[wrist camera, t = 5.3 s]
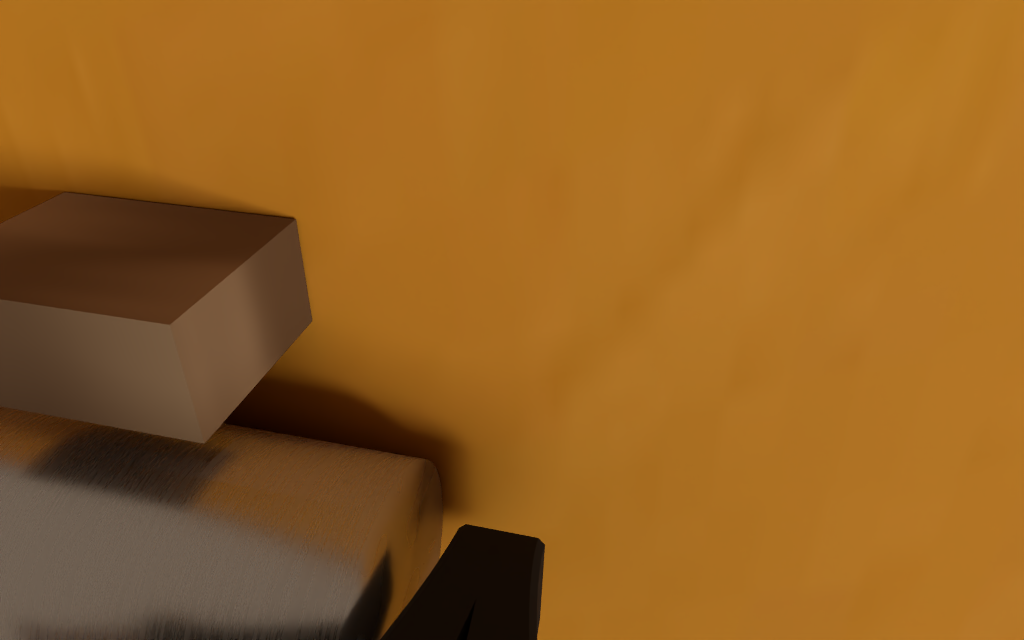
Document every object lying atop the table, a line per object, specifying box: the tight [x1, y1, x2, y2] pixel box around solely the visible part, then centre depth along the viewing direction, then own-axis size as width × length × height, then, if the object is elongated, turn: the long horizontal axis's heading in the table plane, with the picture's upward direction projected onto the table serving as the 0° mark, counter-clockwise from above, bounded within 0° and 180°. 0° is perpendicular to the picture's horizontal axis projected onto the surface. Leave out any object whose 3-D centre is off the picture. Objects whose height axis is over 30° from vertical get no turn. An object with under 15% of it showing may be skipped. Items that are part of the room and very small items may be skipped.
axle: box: [0, 406, 443, 640], centre depth 12 cm, size 12×5×5 cm, turn 89°
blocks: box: [0, 192, 312, 444], centre depth 12 cm, size 4×10×3 cm, turn 179°
